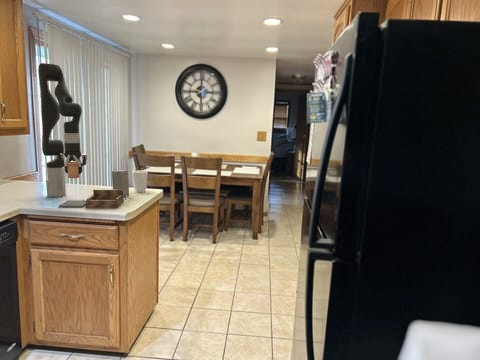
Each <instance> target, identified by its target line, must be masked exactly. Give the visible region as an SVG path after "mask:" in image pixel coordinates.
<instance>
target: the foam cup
mask: <svg viewBox="0 0 480 360" xmlns="http://www.w3.org/2000/svg"><path fill="white" fill-rule="evenodd" d="M148 173H149V171H148V170H144V169H143V170H133V171H132V174H131V175H132V180H133V185H134V191H135V193H144V192H146V190H147V181H148Z"/></svg>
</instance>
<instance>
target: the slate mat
mask: <svg viewBox="0 0 480 360" xmlns="http://www.w3.org/2000/svg"><path fill="white" fill-rule="evenodd" d="M59 207H61V208H69V209H71V208H74V209H75V208H76V209H77V208H79V209H80V208H85V207H86V200H81V199H77V200H76V199H75V200H74V199H73V200H71V199H69V200H68V199H67V200H66V201H65V202H62V203H60V204H59V205H58V208H59ZM61 208H60V209H61Z"/></svg>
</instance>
